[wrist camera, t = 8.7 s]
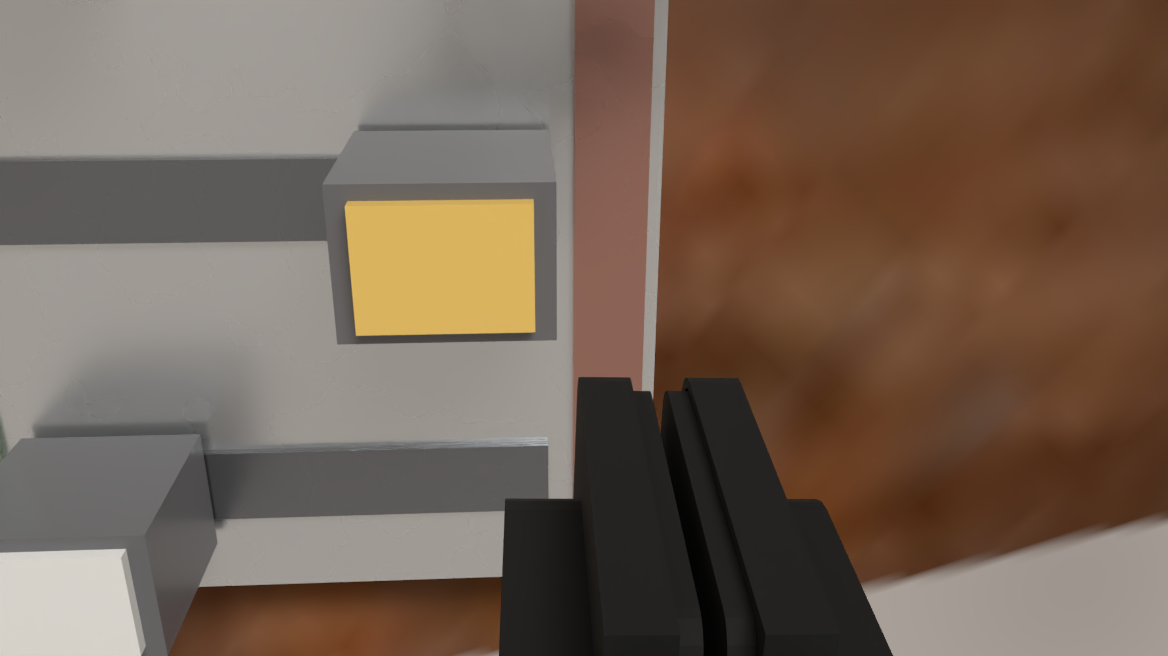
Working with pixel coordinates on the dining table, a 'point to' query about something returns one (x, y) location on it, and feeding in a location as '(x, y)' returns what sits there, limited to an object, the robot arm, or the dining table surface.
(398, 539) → the panel
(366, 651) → the dining table surface
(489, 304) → the block
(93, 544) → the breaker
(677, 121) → the dining table surface
